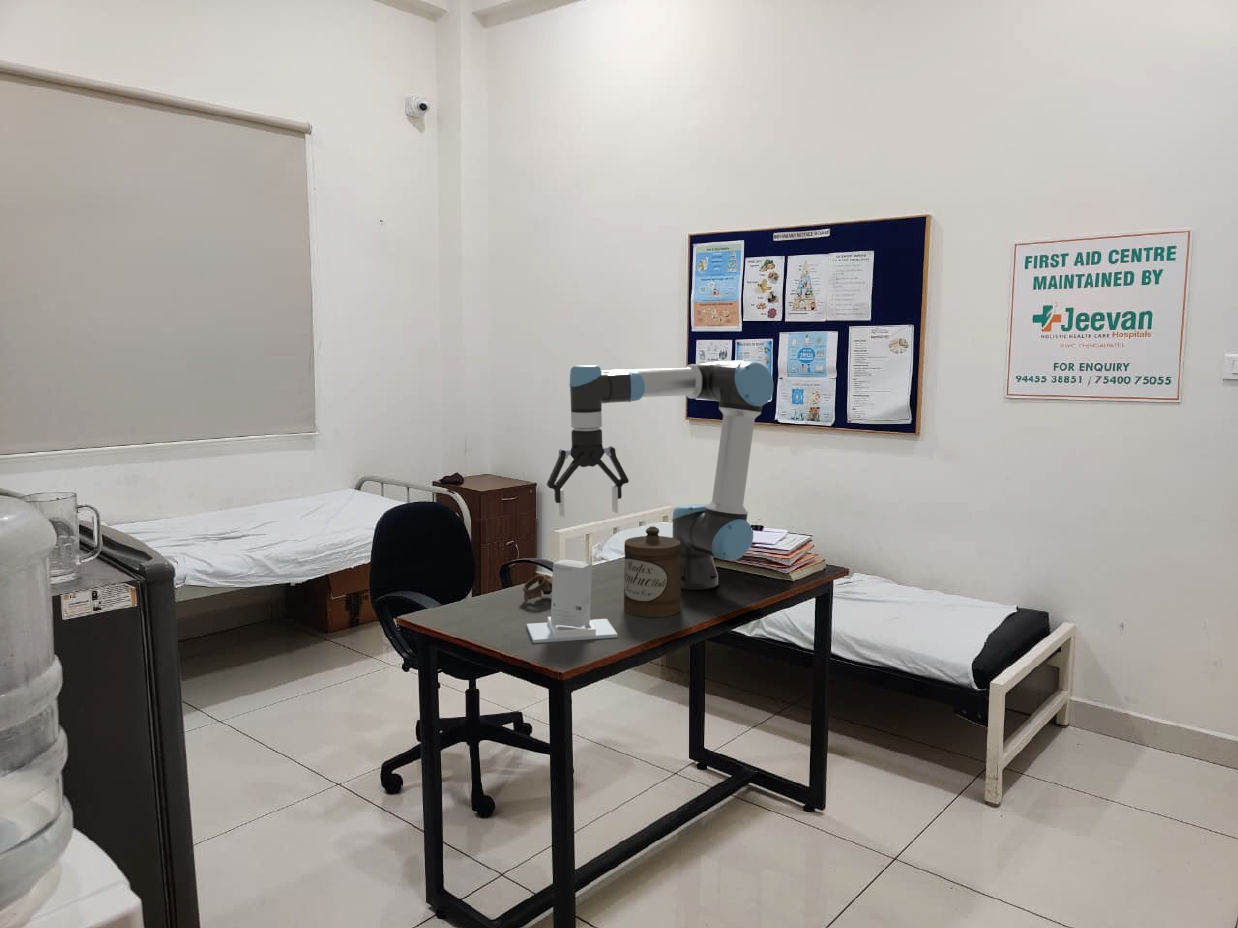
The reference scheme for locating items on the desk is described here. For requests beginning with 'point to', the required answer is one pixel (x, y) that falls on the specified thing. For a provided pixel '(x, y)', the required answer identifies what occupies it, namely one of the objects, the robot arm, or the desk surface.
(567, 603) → the skincare box
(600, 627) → the white box stand
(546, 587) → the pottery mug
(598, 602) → the desk surface
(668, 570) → the wooden container
